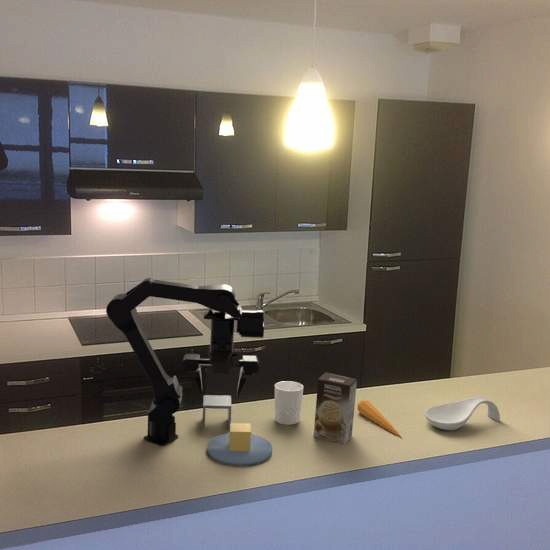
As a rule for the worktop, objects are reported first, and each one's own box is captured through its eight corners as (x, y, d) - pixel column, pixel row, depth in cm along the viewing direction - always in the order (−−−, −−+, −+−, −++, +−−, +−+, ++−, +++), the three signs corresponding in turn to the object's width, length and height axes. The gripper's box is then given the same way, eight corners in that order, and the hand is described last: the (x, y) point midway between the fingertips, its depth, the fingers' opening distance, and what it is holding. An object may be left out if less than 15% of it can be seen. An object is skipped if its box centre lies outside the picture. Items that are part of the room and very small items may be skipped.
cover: (202, 418, 186) (203, 395, 185) (229, 419, 187) (230, 395, 185) (202, 429, 179) (203, 405, 178) (230, 430, 180) (231, 405, 178)
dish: (194, 454, 165) (194, 449, 164) (230, 432, 178) (231, 427, 178) (249, 472, 157) (249, 467, 157) (283, 448, 170) (284, 443, 170)
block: (229, 442, 169) (230, 423, 169) (249, 442, 170) (250, 423, 169) (229, 450, 165) (230, 431, 164) (250, 451, 165) (251, 431, 164)
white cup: (298, 427, 183) (300, 392, 182) (270, 423, 185) (272, 389, 183) (303, 416, 191) (305, 382, 189) (276, 413, 192) (277, 379, 191)
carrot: (356, 414, 197) (353, 402, 195) (369, 407, 198) (366, 394, 196) (397, 449, 180) (394, 436, 178) (411, 440, 181) (408, 427, 179)
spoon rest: (441, 438, 182) (444, 412, 181) (415, 421, 192) (417, 397, 191) (508, 426, 192) (511, 402, 191) (479, 411, 203) (482, 388, 201)
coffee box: (312, 436, 178) (316, 378, 175) (321, 428, 184) (324, 371, 181) (345, 444, 174) (349, 385, 171) (353, 435, 180) (357, 378, 177)
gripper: (182, 344, 159) (180, 407, 162) (261, 346, 161) (258, 408, 164) (184, 331, 170) (183, 390, 173) (259, 333, 172) (256, 392, 175)
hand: (219, 395), depth 171 cm, fingers open, 9 cm apart
